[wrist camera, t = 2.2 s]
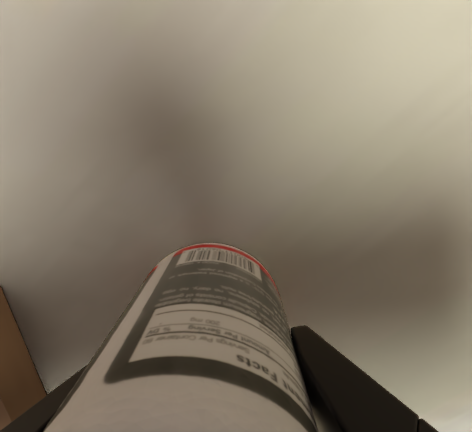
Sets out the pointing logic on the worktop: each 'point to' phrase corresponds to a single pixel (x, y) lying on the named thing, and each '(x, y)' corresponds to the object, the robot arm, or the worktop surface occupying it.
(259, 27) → the worktop surface
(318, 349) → the robot arm
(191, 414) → the pill bottle
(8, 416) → the brown wooden rectangular frame
